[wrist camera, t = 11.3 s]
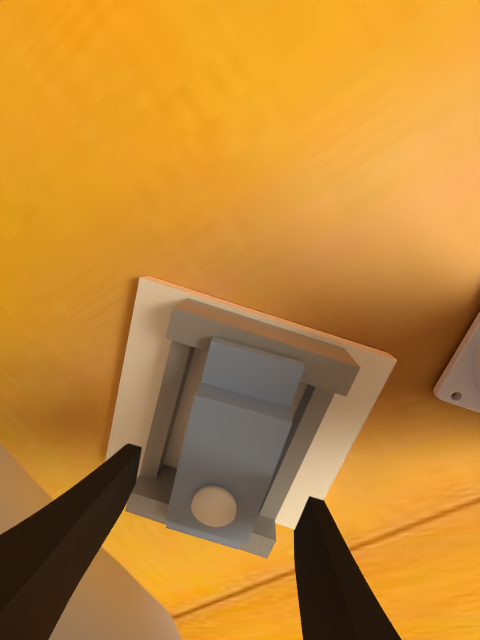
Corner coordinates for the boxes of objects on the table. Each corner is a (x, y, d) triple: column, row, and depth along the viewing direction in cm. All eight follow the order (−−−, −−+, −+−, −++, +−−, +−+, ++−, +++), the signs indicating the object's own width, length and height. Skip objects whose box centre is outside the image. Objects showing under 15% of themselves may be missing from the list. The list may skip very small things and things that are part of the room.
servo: (296, 342, 13) (310, 382, 9) (243, 496, 16) (235, 580, 12) (222, 321, 13) (203, 352, 9) (183, 478, 16) (155, 556, 12)
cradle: (388, 352, 14) (425, 382, 11) (303, 517, 17) (311, 577, 14) (148, 275, 14) (113, 282, 11) (113, 454, 18) (79, 498, 14)
